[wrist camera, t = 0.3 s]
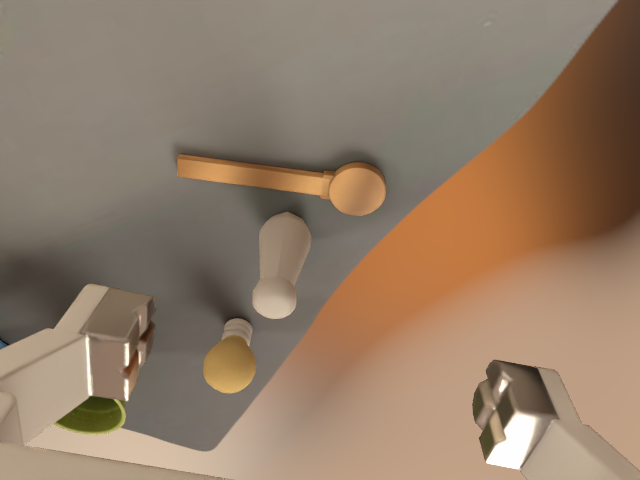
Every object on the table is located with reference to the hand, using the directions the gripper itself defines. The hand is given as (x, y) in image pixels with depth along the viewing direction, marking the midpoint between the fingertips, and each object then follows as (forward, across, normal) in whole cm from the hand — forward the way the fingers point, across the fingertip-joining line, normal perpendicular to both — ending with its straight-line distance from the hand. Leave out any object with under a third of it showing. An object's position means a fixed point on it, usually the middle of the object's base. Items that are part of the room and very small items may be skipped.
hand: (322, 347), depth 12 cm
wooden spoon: (+41, +3, +16) cm, 44 cm away
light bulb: (+44, +5, +40) cm, 59 cm away
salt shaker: (+42, +1, +22) cm, 47 cm away
